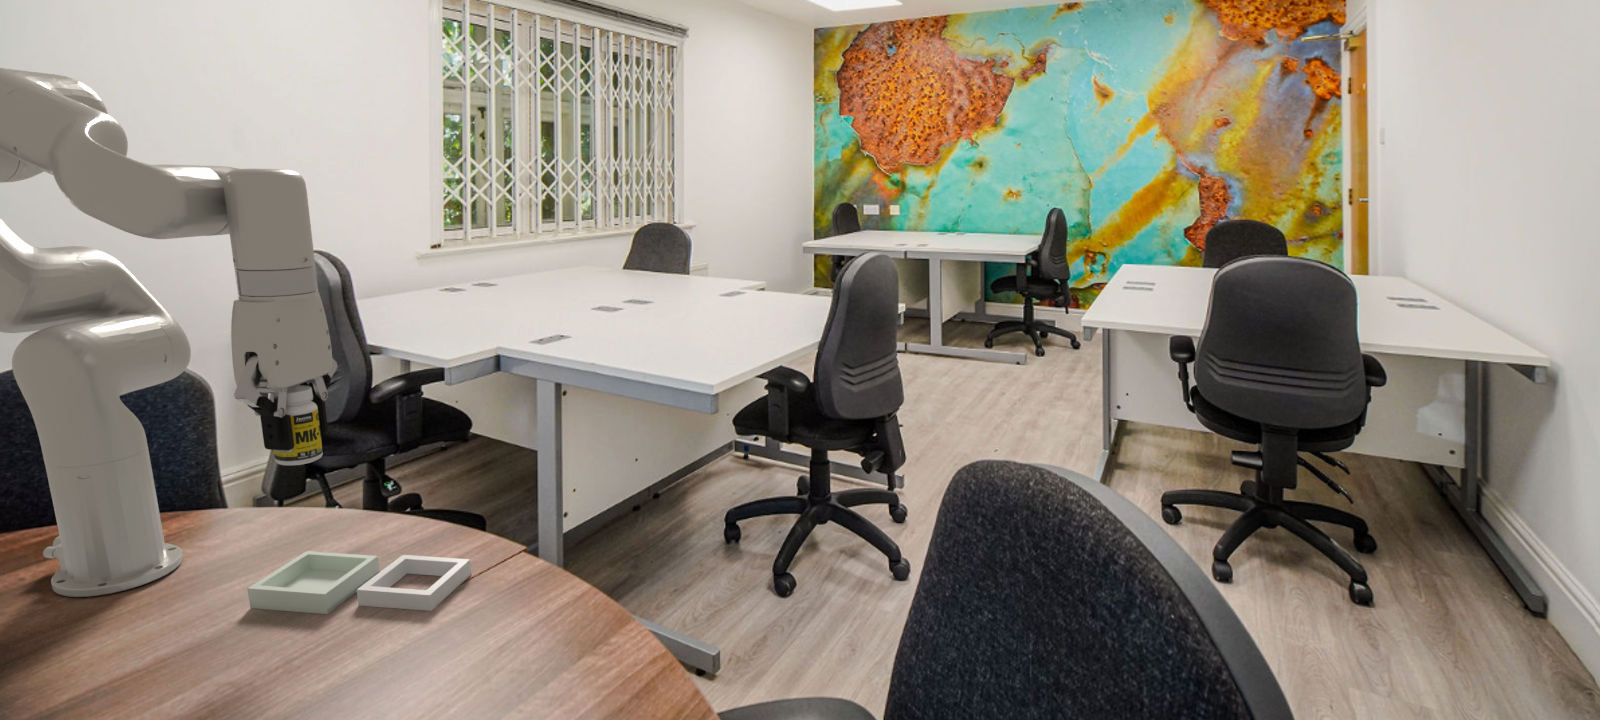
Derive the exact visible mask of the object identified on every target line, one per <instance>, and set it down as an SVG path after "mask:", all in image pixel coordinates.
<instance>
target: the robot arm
mask: <svg viewBox="0 0 1600 720" xmlns="http://www.w3.org/2000/svg"><path fill="white" fill-rule="evenodd" d="M108 113H109V112H108V109H107V107H106V105H105V103H104V102H103V100H102V99H101V97H100V96H99V94H97V92H95V91H94V90H93V89H92V88H91V87H89V86H88V85H86V84H85V83H83V82H82V81H79V80H77V79H75V78H72V77H68V76H66V75H61V74H60V75H59V74H55V73H45V72H36V71H27V70H20V69H19V70H18V69H12V68H11V69H10V68H2V67H0V184H1V183H2V184H3V183H13V182H19V181H23V180H28V179H30V178H33V177H35V176H37V175H39V174H42V173H48V174H49V175H52V176H53V177H54V180H55V182H56V184H57V186H58V188H59V190H60V191H61V192H62V194H63V195H64V197H65V198H66V199H67V201H69V203H70V204H71V205H73V206H74V207H75V208H76V209H77V210H79V211H80V212H82V213H83V214H85V215H88V216H89V217H92V218H94V219H95V220H98V221H100V222H102V223H105V224H106V225H109V226H111V227H114V228H116V229H118V230H121V231H123V232H125V233H128V234H132V235H134V236H138V237H142V238H145V239H146V238H148V239H153V240H170V239H183V238H193V237H204V236H205V237H210V236H211V237H212V236H223V235H229V239H230V245H231V252H232V253H231V255H232V261H233V267H234V273H235V274H234V276H235V280H236V281H235V282H236V288H237V289H236V290H237V297H238V299H235V300H233V303H232V304H233V305H232V312H231V321H230V323H231V325H230V326H231V327H230V329H231V331H230V335H231V338H230V339H231V343H230V344H231V358H232V359H231V360H232V367H233V376H234V381H235V385H236V388H235V391H234V393H233V396H234V399H236V400H238V401H239V402H241V403H243V404H245V405H247V407H248V408H250V409H251V410H252V411H254V415H255V416H256V417H260V425H261V431H262V432H261V433H262V438H263V445H264V448H265V449H266V450H271V451H274V450H286V451H289V450H291V449H293V448H294V440H293V432H292V424H291V417H290V415H285V410H286V397H287V388H290V387H293V386H296V385H306V386H310V387H311V388H312V393H313V399H312V400H311V401H312V402H314V403H315V404H316V405H317V407H318V416H319V424H320V433H321V436H324V435H327V434H329V427H328V418H327V416H328V415H327V410H326V400H327V399H328V398H329V393H328V389H329V385H330V384H331V381H332V378H333V376H334V374H335V372H336V371H337V369H338V366H339V365H338V363H337V361H336V360H335V358H334V357H333V354H332V353H333V351H332V343H331V335H330V331H329V330H330V329H329V325H328V322H327V321H328V319H327V316H326V312H325V308H324V305H323V300H322V298H321V295H320V292H319V287H318V286H319V285H318V278H317V272H316V271H317V270H316V262H315V252H314V243H313V241H314V240H313V234H312V225H311V217H310V208H309V200H308V199H309V198H308V192H307V184H306V181H305V179H304V177H303V176H302V175H301V174H300V173H299V172H297V171H294V170H292V169H284V168H283V169H282V168H281V169H279V168H237V167H232V166H223V165H200V164H199V165H197V164H196V165H193V164H192V165H191V164H189V165H188V164H149V163H144V162H141V161H138V160H135V159H133V158H130V157H128V148H129V142H128V137H127V135H126V132H125V130H124V128H123V127H122V126H121V124H120V123H119V122H118V121H117V120H116V119H115V118H113V116H111V115H109V114H108ZM28 332H29V333H30V332H32V334H31V333H30V334H29V335H28V336H26V337H25V338H24V339H22V340H21V342H19V344H18V345H17V346H16V347H15V349H14V352H13V354H12V358H11V366H12V367H11V369H12V373H13V376H14V379H15V381H16V384H17V387H18V388H19V389H20V392H21V394H22V396H23V398H24V400H25V403H26V405H27V406H28V408H29V411H30V413H31V416H32V419H33V422H34V424H35V428H36V431H37V435H38V439H39V443H40V447H41V453H42V459H43V461H44V466H45V470H46V471H45V472H46V476H47V480H48V486H49V491H50V495H51V501H52V506H53V510H54V514H55V520H56V524H57V530H58V535H57V536H56V537H55V538H54V540H53V542H52V546H51V545H50V546H47V547H45V548H44V549H43V552H42V556H43V557H44V558H47V559H58V563H59V567H60V569H59V570H58V571H56V572H55V573H54V574H53V575H52V577H51V580H50V584H51V589H52V591H53V592H54V593H56V594H58V595H61V596H64V597H71V598H73V597H74V598H82V597H83V598H85V597H86V598H87V597H96V596H103V595H109V594H114V593H119V592H122V591H127V590H130V589H134V588H137V587H141V586H143V585H146V584H149V583H152V582H154V581H156V580H159V579H161V578H162V577H164V576H166V575H168V574H169V573H171V572H173V571H174V570H175V569H177V568H178V567H179V566H180V565H181V563H182V561H183V558H184V556H183V551H182V548H180V546H177V545H175V544H172V543H167V542H165V538H164V532H163V527H162V520H161V515H160V509H159V504H158V496H157V491H156V486H155V480H154V479H155V478H154V474H153V468H152V463H151V457H150V451H149V446H148V439H147V436H146V432H145V429H144V426H143V424H142V423H141V421H140V420H139V418H138V417H137V416H136V415H135V414H134V412H132V411H131V410H130V409H129V408H128V407H127V406H126V405H125V404H124V403H123V401H122V400H121V398H120V396H123V395H126V394H129V393H132V392H135V391H140V390H144V389H146V388H150V387H153V386H157V385H160V384H163V383H166V382H169V381H171V380H174V379H176V378H178V377H179V376H180V375H181V374H183V372H184V371H186V370H187V368H188V366H189V364H190V361H191V355H192V353H191V351H192V350H191V346H190V345H191V344H190V342H189V339H188V336H187V335H186V332H185V331H184V329H183V328H182V326H181V325H180V324H179V322H178V321H177V320H176V319H175V318H174V317H173V316H172V314H171V313H170V312H169V311H168V310H167V309H166V308H165V307H164V306H163V305H162V304H161V302H159V300H157V298H156V297H155V296H154V295H153V294H152V293H151V292H150V291H149V290H148V289H147V287H145V285H143V283H141V281H140V280H139V279H138V278H137V277H136V276H135V274H133V273H132V271H130V270H129V269H128V267H126V266H125V265H124V264H123V263H122V262H121V261H119V260H118V258H116V257H114V256H113V255H110V254H109V253H106V252H105V251H103V250H100V249H96V248H93V247H89V246H74V245H72V246H71V245H70V246H59V247H58V246H56V247H39V246H38V247H37V246H33V245H30V244H29V243H27V242H26V241H24V240H23V239H22V238H21V237H19V235H17V234H16V233H15V231H13V230H12V229H11V228H10V227H9V226H8V224H7V223H6V222H5V221H4V220H3V219H2V218H1V217H0V333H3V334H5V333H7V334H21V333H22V334H23V333H28ZM33 332H34V333H33ZM271 393H274V402H272V399H270V398H269V394H271Z"/></svg>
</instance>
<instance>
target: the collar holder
mask: <svg viewBox="0 0 1600 720" xmlns="http://www.w3.org/2000/svg"><path fill="white" fill-rule="evenodd" d="M471 566H472V565H471V559H470V558H456V557H455V558H453V557H442V556H441V557H440V556H426V555H413V554H412V555H411V554H402V555H401V556H398V558H396V560H394V561H393V562H391V563H390V564H388V565H387V566H386V567H384V568H382V570H381V571H380V572H379V573H378V574H377V575H375V576H374V577H373V578H371V579H370V580H369V581H367V582H366V583H365V584H363V585H362V586H361V587H360V588H358V589H357V592H356V595H357V596H356V597H357V602H358V603H357V605H358V606H361V607H362V606H363V607H374V608H376V607H377V608H388V609H389V608H390V609H399V610H400V609H401V610H412V611H428V612H432V611H433V610H435V609H436V607H437V606H439V605H440V604H441V603H442V602H443V601H444V600H445V599H446V598H448V596H450V594H452V592H454V591H455V590H456V589H457V588H458V587H459V586H460V585H461V584H462V583H463V582H465V580H466V581H467V579H468V578H469V577H470V576H471V575H472V567H471ZM407 574H409V575H422V576H423V575H424V576H438V577H439V579H438V580H436V581H435V582H434V583H433V584H432V585H431V586H429V588H427V589H415V588H413V589H412V588H401V587H400V588H399V587H393V585H395V584H396V583H397V582H399V581H400V580H401V579H402V578H403V577H404V576H406V575H407Z"/></svg>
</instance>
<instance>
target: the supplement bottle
mask: <svg viewBox="0 0 1600 720" xmlns="http://www.w3.org/2000/svg"><path fill="white" fill-rule="evenodd" d="M270 398H271V399H270V400H271V401H272V402H274V393H270ZM312 399H313V393H312V388H311V387H310V386H306V385H296V386H293V387H290V388H287V397H286V410H285V415H290V417H291V424H292V432H293V440H294V448H293V449H291V450H289V451H286V450H273V453H274V454H273V455H274V461H275V463H276V464H278V465H280V466H301V465H305V464H310V463H313V462H316V461H317V460H319V459H321V458H322V457H323V454H324V453H323V444H322V435H321V433H320V424H319V416H318V407H317V405H316V404H315V403H314V402H312V401H311V400H312Z"/></svg>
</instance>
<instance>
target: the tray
mask: <svg viewBox="0 0 1600 720" xmlns="http://www.w3.org/2000/svg"><path fill="white" fill-rule="evenodd" d="M379 572H381V571H380V564H379V556H378V555H368V554H353V553H342V552H341V553H340V552H326V551H313V550H312V551H311V550H306V551H304V552H303V553H301V554H300V555H298V556H297V557H295V558H293V559H291V560H290V561H288V562H287V563H285V564H283V565H282V566H281V567H280V566H279V568H277V569H276V570H274V571H272V572H271V573H270V574H267V575H266V576H265V577H263V578H261V579H260V580H258V581H257V582H255V583H253V584H251V586H249V587H248V588H247V595H248V601H249V607H250V609H255V610H256V609H259V610H270V611H281V612H292V613H293V612H295V613H296V612H297V613H307V614H318V615H319V614H321V615H328V614H330V613H332V612H333V611H334V610H335V609H337V608H338V607H339V606H341V605H342V604H343V603H344V602H345V601H347V600H349V598H351V597H352V596H353V595H355V594H357V589H358V588H360V587H361V586H362V585H363V584H365V583H366V582H367V581H369V580H370V579H371V578H373V577H374V576H375V575H377V574H378V573H379Z"/></svg>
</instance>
